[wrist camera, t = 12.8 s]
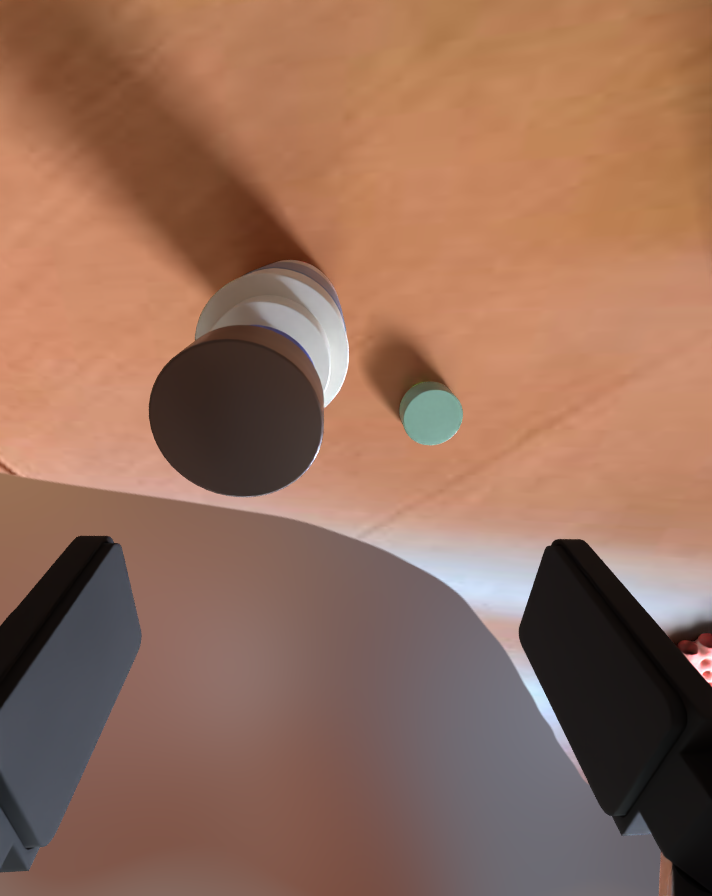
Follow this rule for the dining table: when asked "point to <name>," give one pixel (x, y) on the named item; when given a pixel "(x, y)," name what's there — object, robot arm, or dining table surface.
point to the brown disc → (239, 411)
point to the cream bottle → (287, 314)
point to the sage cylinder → (430, 413)
